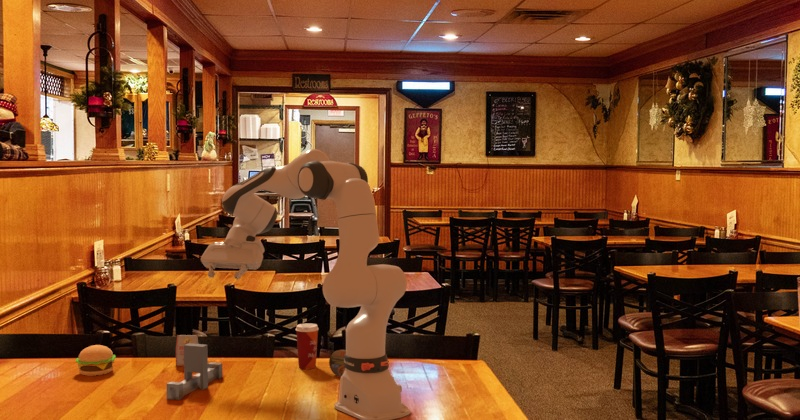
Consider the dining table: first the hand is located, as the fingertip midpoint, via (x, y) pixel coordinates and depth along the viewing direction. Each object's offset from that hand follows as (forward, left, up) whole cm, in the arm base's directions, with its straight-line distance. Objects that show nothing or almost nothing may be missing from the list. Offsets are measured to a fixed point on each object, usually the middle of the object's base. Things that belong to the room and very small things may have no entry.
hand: (223, 277), depth 236 cm
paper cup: (-5, -26, -32) cm, 41 cm away
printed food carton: (+17, +8, -32) cm, 37 cm away
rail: (-10, +12, -31) cm, 35 cm away
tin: (-22, -34, -32) cm, 52 cm away
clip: (-10, +11, -31) cm, 35 cm away
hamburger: (+22, +36, -32) cm, 53 cm away
